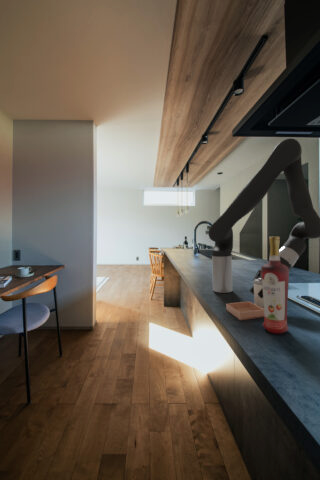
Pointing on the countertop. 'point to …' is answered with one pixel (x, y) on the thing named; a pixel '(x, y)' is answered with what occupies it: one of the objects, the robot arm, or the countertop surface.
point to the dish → (245, 310)
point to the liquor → (275, 290)
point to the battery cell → (257, 288)
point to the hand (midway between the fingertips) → (255, 294)
